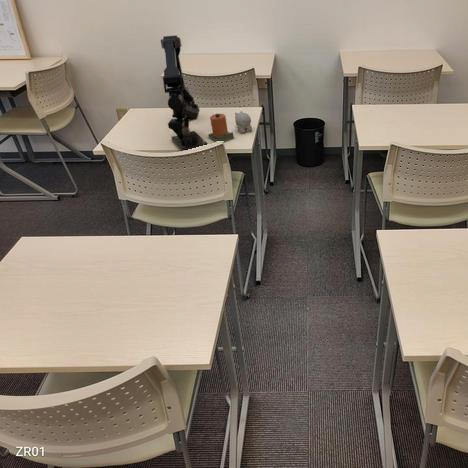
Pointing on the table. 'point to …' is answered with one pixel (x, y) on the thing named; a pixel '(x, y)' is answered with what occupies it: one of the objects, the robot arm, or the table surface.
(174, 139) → the hob
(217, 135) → the pot
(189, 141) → the hob plate
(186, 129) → the grey and red block
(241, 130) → the round bodied animal figurine
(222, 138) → the rack
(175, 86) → the robot arm
